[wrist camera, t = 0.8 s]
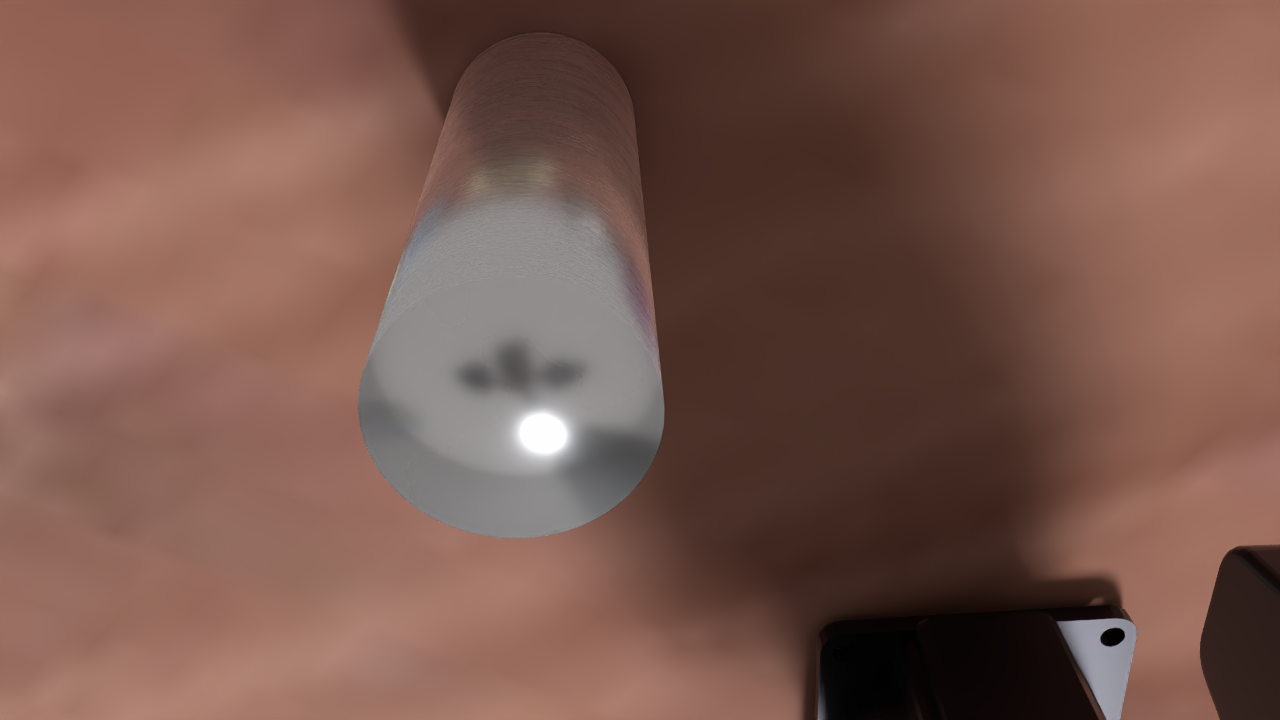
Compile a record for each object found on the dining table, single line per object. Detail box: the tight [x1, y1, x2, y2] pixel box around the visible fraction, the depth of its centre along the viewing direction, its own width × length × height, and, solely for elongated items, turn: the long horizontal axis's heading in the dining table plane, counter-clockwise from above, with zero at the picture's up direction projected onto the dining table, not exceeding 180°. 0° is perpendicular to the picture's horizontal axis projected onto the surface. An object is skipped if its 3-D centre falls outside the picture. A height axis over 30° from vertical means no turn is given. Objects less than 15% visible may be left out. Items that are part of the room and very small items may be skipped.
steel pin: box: [358, 32, 665, 538], centre depth 16 cm, size 3×3×9 cm
